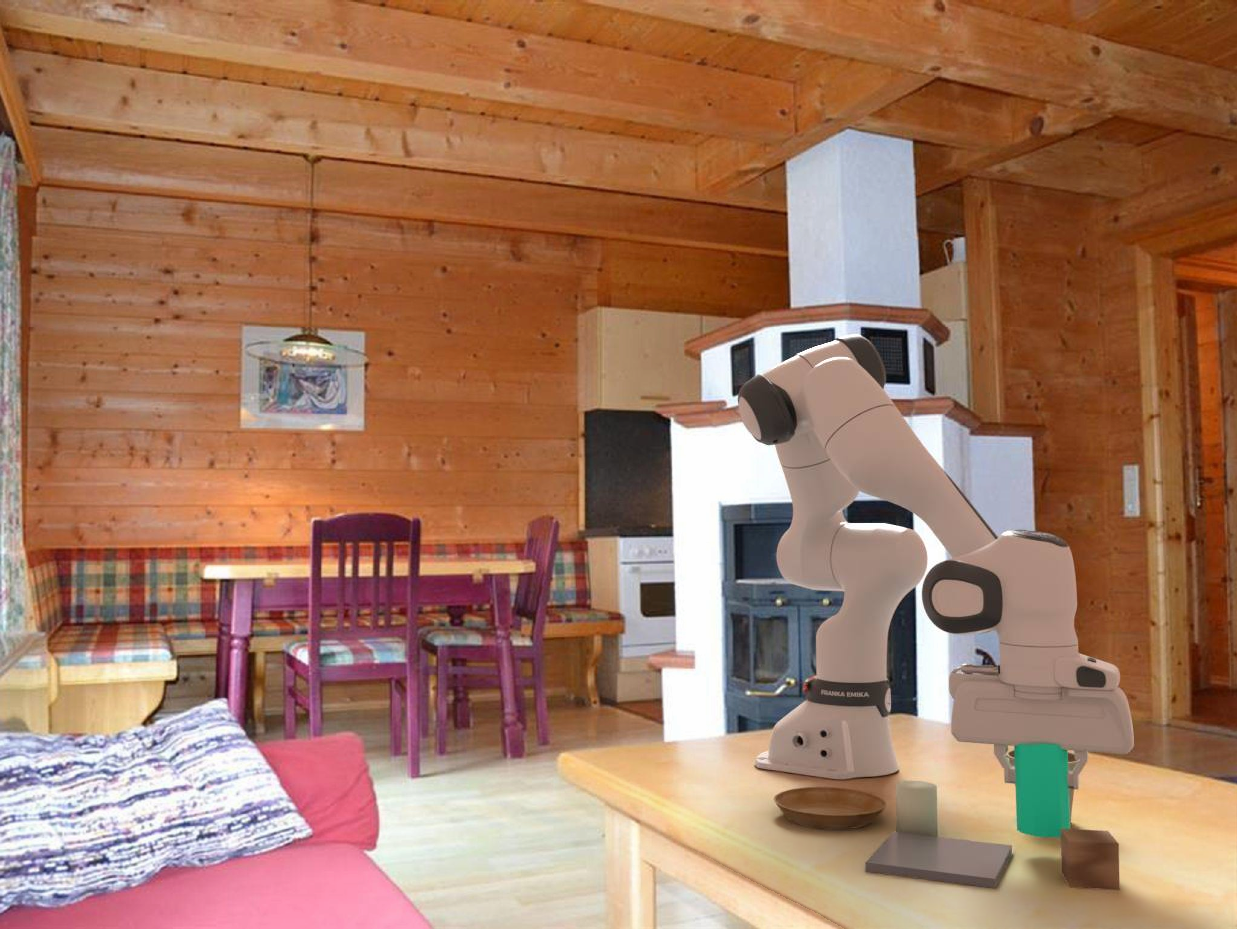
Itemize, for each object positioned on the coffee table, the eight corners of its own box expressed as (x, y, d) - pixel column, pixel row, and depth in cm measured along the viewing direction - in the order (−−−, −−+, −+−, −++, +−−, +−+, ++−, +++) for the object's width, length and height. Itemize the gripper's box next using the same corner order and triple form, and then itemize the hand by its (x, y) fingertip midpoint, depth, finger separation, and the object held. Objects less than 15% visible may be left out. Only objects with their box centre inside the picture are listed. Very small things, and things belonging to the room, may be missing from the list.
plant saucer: (908, 819, 152) (907, 799, 152) (846, 841, 141) (846, 820, 142) (815, 800, 162) (815, 781, 162) (751, 820, 152) (751, 800, 152)
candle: (1076, 838, 131) (1072, 732, 131) (1021, 836, 132) (1017, 731, 132) (1065, 825, 137) (1061, 723, 137) (1013, 823, 138) (1009, 722, 138)
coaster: (865, 871, 129) (865, 862, 129) (893, 839, 141) (893, 831, 141) (994, 888, 122) (994, 878, 122) (1012, 853, 135) (1011, 845, 135)
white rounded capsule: (892, 835, 143) (892, 787, 143) (901, 826, 148) (900, 779, 148) (933, 840, 141) (932, 791, 141) (941, 830, 145) (940, 783, 146)
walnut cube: (1070, 888, 123) (1069, 841, 123) (1061, 873, 128) (1060, 828, 128) (1119, 890, 122) (1118, 843, 122) (1109, 876, 127) (1108, 830, 127)
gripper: (944, 666, 137) (946, 782, 136) (1131, 675, 128) (1134, 800, 127) (952, 659, 142) (955, 771, 142) (1132, 668, 134) (1135, 787, 133)
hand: (1041, 785), depth 135 cm, fingers closed on candle, 5 cm apart
